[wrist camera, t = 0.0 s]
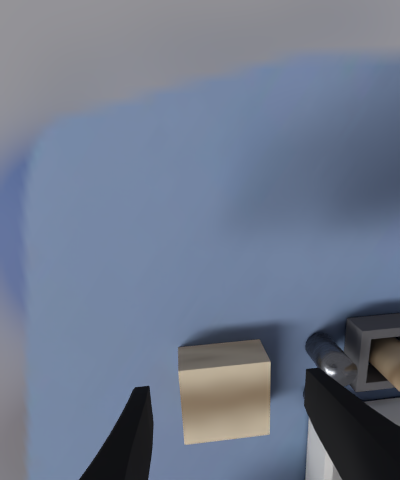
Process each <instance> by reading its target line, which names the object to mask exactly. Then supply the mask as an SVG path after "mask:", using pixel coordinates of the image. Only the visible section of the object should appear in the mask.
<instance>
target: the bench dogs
mask: <svg viewBox="0 0 400 480" xmlns="http://www.w3.org/2000/svg"><path fill="white" fill-rule="evenodd" d="M305 348H306V352H307V353H308V355H309V356H310V357H311V359H312V360H313V361H314V363H315V364H316V366H317V367H318V368H320V369H321V370H323V371H324V372H325V373H327V374H328V375H329V376H330V377H332V378H333V379H334V380H336V381H337V382H338V383H339V384H341V385H342V386H343V387H344V386H347V385H349V384H350V383H352V382H353V381H354V379H355V378H356V376H357V372H358V370H357V366H356V365H355V364H354V362H353V361H352V360H351V359H350V358H349V357H348V356H347V355H346V354H345V353H344V352H343V351H342V350H341V348H340V347H339V346H338V345H337V344H336V343H335V342H334V341H333V340H332V339H331V338H330V337H329V336H328V335H327V334H324V333H318V334H315V335H313V336H311V337H310V338H309V339H308V340H307V342H306V346H305ZM303 397H304V399H305V389H304V392H303Z"/></svg>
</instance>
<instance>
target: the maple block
mask: <svg viewBox="0 0 400 480" xmlns="http://www.w3.org/2000/svg"><path fill="white" fill-rule="evenodd" d="M270 369H271V361H270V359H269V357H268V355H267V353H266V351H265V349H264V347H263V345H262V343H261V341H260V339H256V340H246V341H236V342H226V343H216V344H206V345H196V346H186V347H178V371H179V383H180V395H181V407H182V418H183V430H184V442H185V445H188V444H196V443H204V442H212V441H220V440H228V439H237V438H245V437H253V436H261V435H269V434H270Z"/></svg>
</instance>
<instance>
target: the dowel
mask: <svg viewBox="0 0 400 480" xmlns="http://www.w3.org/2000/svg"><path fill="white" fill-rule="evenodd" d="M369 362H370V363H371V364H372V365H373V366H374V367H375V368H376V369H377V370H378V371H379V372H380V373H381V374H382V375H383V376H384V377H385V378H386V379H387V380H388V381H389V382H390V383H391V384H392V385H393V386H394V387H395V388H396V389H397V390H398V391H399V392H400V341H399V340H397V339H396V338H395V337H388V338H379V339H371V345H370V353H369Z"/></svg>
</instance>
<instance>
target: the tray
mask: <svg viewBox="0 0 400 480" xmlns="http://www.w3.org/2000/svg"><path fill="white" fill-rule="evenodd" d="M364 403H366V404H367V405H369V406H370V407H371V408H373V409H374V410H376V411H377V412H379V413H380V414H382V415H383V416H384V417H386V418H387V419H389V420H390V421H392V422H393V423H395V424H397V425H398V426H400V397H399V398H391V399H383V400H374V401H366V402H364ZM305 480H342V479H341V477H340V475H339V473H338V471H337V470H336V468H335V466H334V464H333V462H332V461H331V459H330V457H329V455H328V454H327V452H326V450H325V448H324V446H323V444H322V443H321V441H320V439H319V437H318V435H317V434H316V432H315V430H314V428H313V425H312V423H311V421H310V418H309V426H308V443H307V460H306V477H305Z"/></svg>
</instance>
